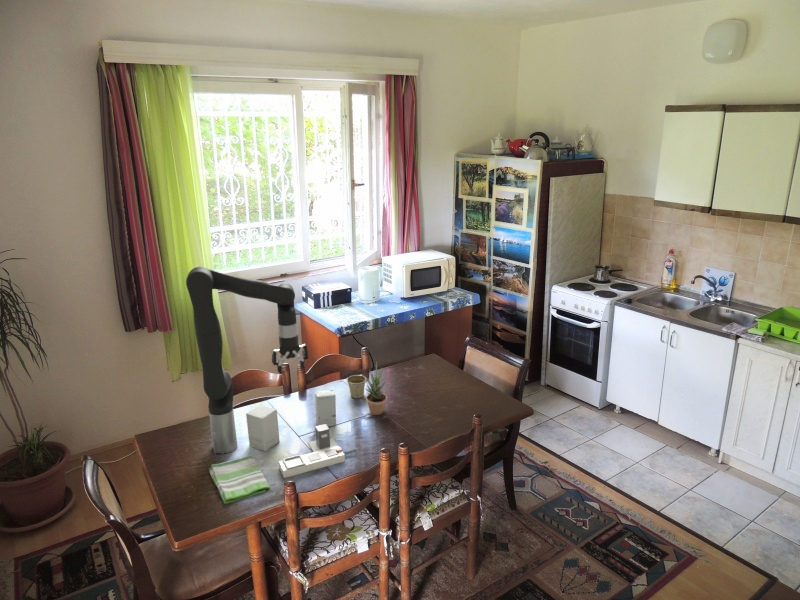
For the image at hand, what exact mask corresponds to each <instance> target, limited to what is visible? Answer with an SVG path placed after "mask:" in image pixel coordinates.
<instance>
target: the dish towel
mask: <svg viewBox="0 0 800 600" xmlns="http://www.w3.org/2000/svg"><path fill="white" fill-rule="evenodd" d="M208 472H209V474H210V476H211V479H212V480H213V483H214V485H215V487H217V490H218V493H219V496H220V497H221V501H222V502H223V504H224V505H227V504H230V503H233V502H236V501H240V500H242V499H243V500H244V499H245V498H249V497H251V496H255V495H257V494H260V493H263V492H266V491H270V490H271V486H270V485H269V483H268V481H267V479H266V477H265V476H264V474H263V472H262V469H261V468H260V466H259V465H258V463H257V462H256V460H255V458H254V456H252V455H244V456H241V457H239V458H238V457H237V458H235V459H232V460H228V461H224V462H220V463H214V464H213V463H211V467H210V468H208Z"/></svg>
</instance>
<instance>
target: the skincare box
mask: <svg viewBox="0 0 800 600" xmlns="http://www.w3.org/2000/svg"><path fill="white" fill-rule="evenodd" d="M314 398H315V399H314V400H315V401H314V402H315V422H316V426H319V425H323V424H326V425H327V426H328V427H335V426H337V410H336V409H337V408H336V406H337V403H336V402H337V401H336V399H337V398H336V393H335V391H334V389H329V390H328V389H326V390H320V391H319V390H318V391H315V392H314Z"/></svg>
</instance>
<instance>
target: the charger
mask: <svg viewBox="0 0 800 600" xmlns="http://www.w3.org/2000/svg"><path fill="white" fill-rule="evenodd" d="M314 428H315V429H314V431H315V440H316V444H317V446H318V447H319V449H323V448H326V447H330V436H331V434H330V427H329V426H327V425H326V424H323V425H319V426H317V425H316V426H315V427H314Z"/></svg>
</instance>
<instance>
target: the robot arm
mask: <svg viewBox="0 0 800 600" xmlns="http://www.w3.org/2000/svg"><path fill="white" fill-rule="evenodd" d="M185 284H186V288H187V291H188V294H189V298H190V302H191V305H192V311H193V312H192V314H193V323H194V325H193V326H194V333H195V338H196V343H197V349H198V353H199V358H200V362H201V367H202V378H203V379H202V380H203V382H202V383H203V390H204V393H205V394H206V396H207V397H208V398H209V399H208V406H207V407H208V414H209V423H210V429H209V430H210V434H211V436H210V437H211V443H212V449H213V451H214V454H215V453H221V454H220V455H224V453H226V454H229V452H230V453H232V452H234V451H235V450H237V448H238V439H237V431H236V430H237V429H236V422H235V411H234V391H233V382H232V377H231V375H230V373H229V372H227V371H226V370H224V369H223V347H224V345H223V344H224V343H223V342H224V341H223V335H222V329H221V328H222V327H221V324H220V323H221V322H220V320H219V317H218V314H217V313H216V310H215V305H214V298H213V296H214V295H213V290H221V291H225V292H230V293H233V294H236V295H238V296H242V297H245V298H251V299H256V300H257V299H258V300H264V301H267V302H270V303H272V304H273V303H274V304H276V306H277V322H278V326H277V330H278V332H277V335H278V344H279V348H278V349H274V348H273V349H271V363H272V364H273V366H276V369H277V370H276V371H277V373H278V374H280V375H282V374H283V367H282V364H283V362H285V361H286V360H289V359H294V358H295V357H296V358H297V359H298V363H299V364H298V365H299V369H300V371H304V369H305V361H306V360H308V359H309V353H308V346H307V345H306V343H303V344H301V345H300V343H299V328H298V323H297V313H296V308H295V298H296V293H295V290H294V288H293V286H292V285H291V284H290V283H286V282H282V283H280V284H279V285H273V284H271V283H270V282H269V281H268V282H267V281H265V280H259V279H252V278H247V277H240V276H234V275H230V274H225V273H222V272H218V271H215V270H213V269H209V268H208V267H207V268H206V267H203V266H197V267H194V268H192V269H191V270H190V271H189V272H188V274H187V277H186V281H185ZM300 350H301V351H302V352H303V356H302V355H300V353H299V351H300ZM278 354H280V355H279V357H278V359H277V356H278Z"/></svg>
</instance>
